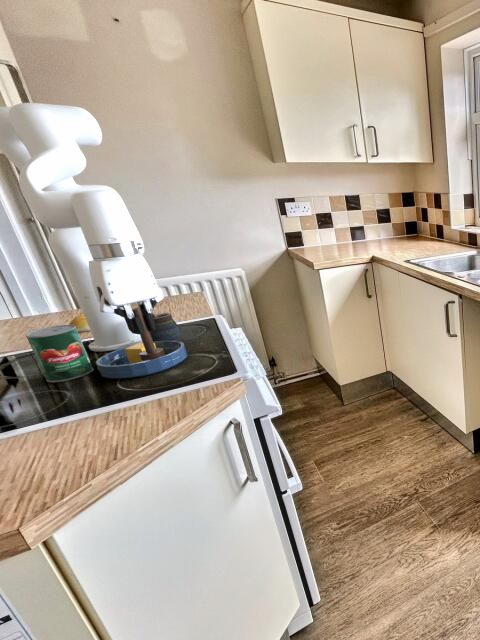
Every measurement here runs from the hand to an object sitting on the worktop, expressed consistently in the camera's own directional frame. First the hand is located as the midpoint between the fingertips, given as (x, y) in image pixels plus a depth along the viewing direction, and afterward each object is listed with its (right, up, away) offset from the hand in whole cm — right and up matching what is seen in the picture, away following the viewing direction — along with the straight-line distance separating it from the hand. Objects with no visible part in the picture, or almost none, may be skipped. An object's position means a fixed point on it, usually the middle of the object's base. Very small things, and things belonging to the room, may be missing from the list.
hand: (143, 331), depth 97 cm
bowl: (-3, -8, +4) cm, 10 cm away
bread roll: (-47, +2, +34) cm, 58 cm away
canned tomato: (-17, -10, +1) cm, 20 cm away
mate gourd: (-10, -3, +19) cm, 22 cm away
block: (-5, -7, +6) cm, 10 cm away
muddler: (0, -6, +2) cm, 7 cm away
